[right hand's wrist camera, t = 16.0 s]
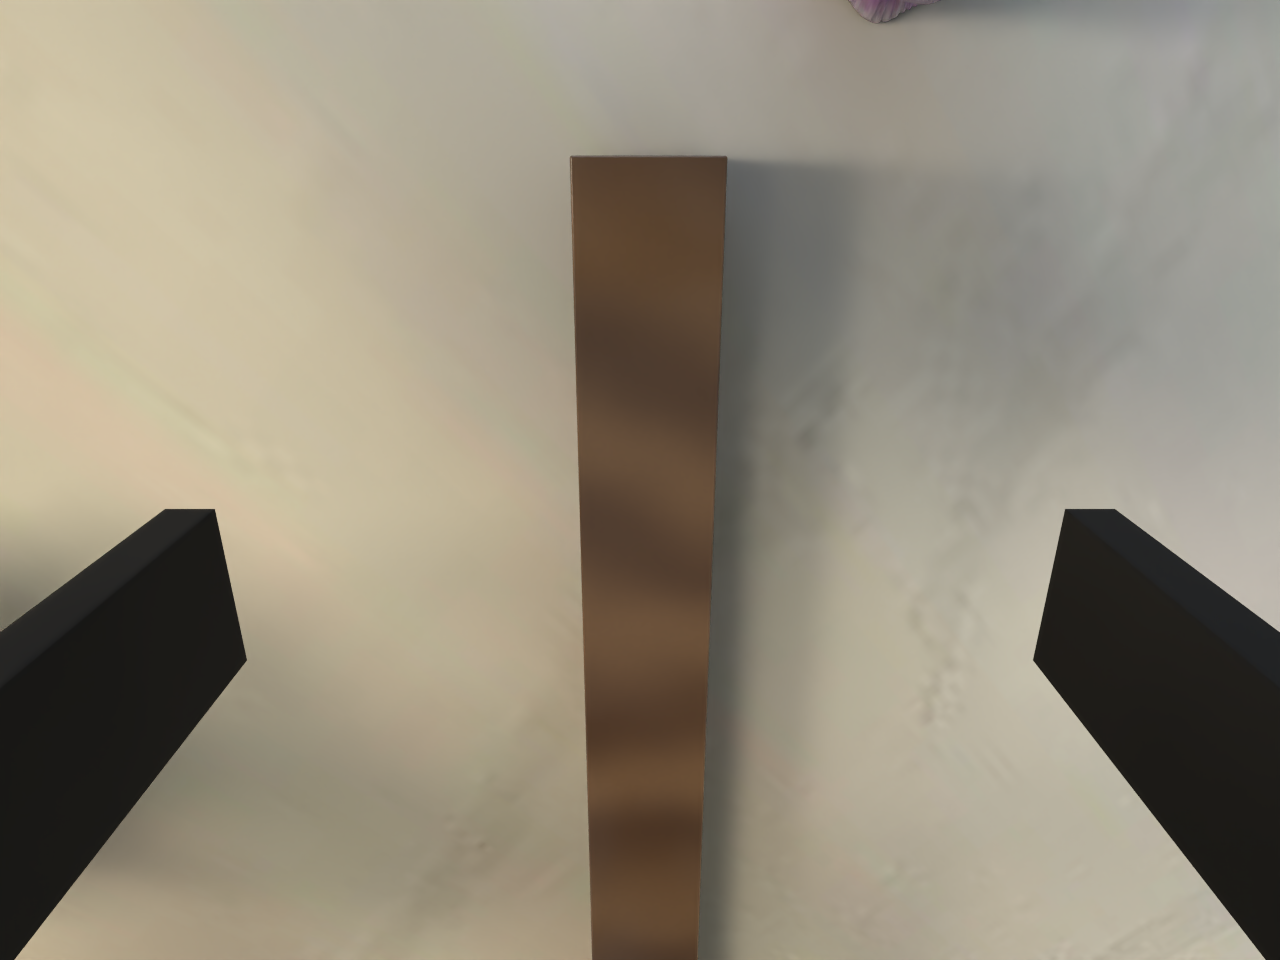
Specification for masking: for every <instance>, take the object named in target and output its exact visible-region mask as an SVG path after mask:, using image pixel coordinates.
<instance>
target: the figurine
mask: <svg viewBox="0 0 1280 960" xmlns="http://www.w3.org/2000/svg"><path fill="white" fill-rule="evenodd" d="M938 1H940V0H849V2H850V3H851V4H852V6H853V7H854V8H855V9H856V11H857V12H858V13H859V14H860V15H861V16H862V17H864V18H865V19H867V20H869V21H870V22H873V23H879V22H880V21H883V22H886V21H889V20H891V19H893V18H895V17H897V16H898V14H899V13H900V12H901V13H904V11H905V10H906V9H908V10H910V9H911V7H912V6H917V4H932V3H935V2H938Z"/></svg>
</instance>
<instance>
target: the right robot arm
mask: <svg viewBox="0 0 1280 960" xmlns="http://www.w3.org/2000/svg"><path fill="white" fill-rule="evenodd" d="M246 661H247V658H246V654H245V649H244V644H243V640H242V635H241V630H240V626H239V621H238V616H237V611H236V607H235V602H234V597H233V593H232V588H231V583H230V578H229V574H228V569H227V564H226V560H225V555H224V550H223V546H222V541H221V536H220V531H219V527H218V522H217V517H216V513H215V509H165V510H163V511H162V512H161V513H159V514H158V515H157V516H155V517H154V518H153V519H151V520H150V521H149V522H147V523H146V524H145V525H143V526H142V527H141V528H139V529H138V530H137V531H135V532H134V533H133V534H131V535H130V536H129V537H127V538H126V539H125V540H123V541H122V542H121V543H119V544H118V545H116V546H115V547H114V548H112V549H111V550H110V551H108V552H107V553H106V554H104V555H103V556H102V557H100V558H99V559H98V560H96V561H95V562H94V563H92V564H91V565H90V566H88V567H87V568H86V569H84V570H83V571H82V572H80V573H79V574H78V575H76V576H75V577H74V578H72V579H71V580H70V581H68V582H67V583H66V584H64V585H63V586H62V587H60V588H59V589H58V590H56V591H55V592H54V593H52V594H51V595H50V596H48V597H47V598H46V599H44V600H43V601H42V602H40V603H39V604H38V605H36V606H35V607H34V608H32V609H31V610H30V611H28V612H27V613H26V614H24V615H23V616H22V617H20V618H19V619H17V620H16V621H15V622H13V623H12V624H11V625H9V626H8V627H7V628H5V629H4V630H3V631H1V632H0V960H14V959H15V958H16V957H17V956H18V954H19V953H20V952H21V950H22V949H23V948H24V947H25V945H26V944H27V943H28V941H29V940H30V939H31V938H32V936H33V935H34V934H35V932H36V931H37V930H38V928H39V927H40V926H41V925H42V923H43V922H44V921H45V919H46V918H47V917H48V916H49V914H50V913H51V912H52V910H53V909H54V908H55V907H56V905H57V904H58V903H59V901H60V900H61V899H62V898H63V896H64V895H65V894H66V892H67V891H68V890H69V889H70V887H71V886H72V885H73V883H74V882H75V881H76V880H77V878H78V877H79V876H80V874H81V873H82V872H83V871H84V869H85V868H86V867H87V865H88V864H89V863H90V862H91V860H92V859H93V858H94V856H95V855H96V854H97V853H98V851H99V850H100V849H101V847H102V846H103V845H104V844H105V842H106V841H107V840H108V838H109V837H110V836H111V835H112V833H113V832H114V831H115V829H116V828H117V827H118V826H119V824H120V823H121V822H122V820H123V819H124V818H125V816H126V815H127V814H128V813H129V811H130V810H131V809H132V807H133V806H134V805H135V804H136V802H137V801H138V800H139V798H140V797H141V796H142V795H143V793H144V792H145V791H146V789H147V788H148V787H149V786H150V784H151V783H152V782H153V780H154V779H155V778H156V777H157V775H158V774H159V773H160V771H161V770H162V769H163V768H164V766H165V765H166V764H167V762H168V761H169V760H170V759H171V757H172V756H173V755H174V753H175V752H176V751H177V750H178V748H179V747H180V746H181V744H182V743H183V742H184V741H185V739H186V738H187V737H188V735H189V734H190V733H191V732H192V730H193V729H194V728H195V726H196V725H197V724H198V723H199V721H200V720H201V719H202V717H203V716H204V715H205V714H206V712H207V711H208V710H209V708H210V707H211V706H212V704H213V703H214V702H215V701H216V699H217V698H218V697H219V695H220V694H221V693H222V692H223V690H224V689H225V688H226V686H227V685H228V684H229V683H230V681H231V680H232V679H233V677H234V676H235V675H236V674H237V672H238V671H239V670H240V668H241V667H242V666H243V665H244V663H245V662H246ZM1033 661H1034V662H1035V663H1036V665H1037V666H1038V667H1039V668H1040V670H1041V671H1042V672H1043V674H1044V675H1045V676H1046V677H1047V679H1048V680H1049V681H1050V683H1051V684H1052V685H1053V686H1054V688H1055V689H1056V690H1057V692H1058V693H1059V694H1060V695H1061V697H1062V698H1063V699H1064V701H1065V702H1066V703H1067V705H1068V706H1069V707H1070V708H1071V710H1072V711H1073V712H1074V714H1075V715H1076V716H1077V717H1078V719H1079V720H1080V721H1081V723H1082V724H1083V725H1084V726H1085V728H1086V729H1087V730H1088V732H1089V733H1090V734H1091V735H1092V737H1093V738H1094V739H1095V741H1096V742H1097V743H1098V744H1099V746H1100V747H1101V748H1102V750H1103V751H1104V752H1105V753H1106V755H1107V756H1108V757H1109V759H1110V760H1111V761H1112V762H1113V764H1114V765H1115V766H1116V768H1117V769H1118V770H1119V771H1120V773H1121V774H1122V775H1123V777H1124V778H1125V779H1126V780H1127V782H1128V783H1129V784H1130V786H1131V787H1132V788H1133V789H1134V791H1135V792H1136V793H1137V795H1138V796H1139V797H1140V798H1141V800H1142V801H1143V802H1144V804H1145V805H1146V806H1147V807H1148V809H1149V810H1150V811H1151V813H1152V814H1153V815H1154V816H1155V818H1156V819H1157V820H1158V822H1159V823H1160V824H1161V826H1162V827H1163V828H1164V829H1165V831H1166V832H1167V833H1168V835H1169V836H1170V837H1171V838H1172V840H1173V841H1174V842H1175V844H1176V845H1177V846H1178V847H1179V849H1180V850H1181V851H1182V853H1183V854H1184V855H1185V856H1186V858H1187V859H1188V860H1189V862H1190V863H1191V864H1192V865H1193V867H1194V868H1195V869H1196V871H1197V872H1198V873H1199V874H1200V876H1201V877H1202V878H1203V880H1204V881H1205V882H1206V883H1207V885H1208V886H1209V887H1210V889H1211V890H1212V891H1213V892H1214V894H1215V895H1216V896H1217V898H1218V899H1219V900H1220V901H1221V903H1222V904H1223V905H1224V907H1225V908H1226V909H1227V910H1228V912H1229V913H1230V914H1231V916H1232V917H1233V918H1234V919H1235V921H1236V922H1237V923H1238V925H1239V926H1240V927H1241V928H1242V930H1243V931H1244V932H1245V934H1246V935H1247V936H1248V938H1249V939H1250V940H1251V941H1252V943H1253V944H1254V945H1255V947H1256V948H1257V949H1258V950H1259V952H1260V953H1261V954H1262V956H1263V957H1264V958H1265V959H1266V960H1280V632H1279V631H1277V630H1276V629H1275V628H1273V627H1272V626H1271V625H1269V624H1268V623H1267V622H1265V621H1264V620H1263V619H1261V618H1260V617H1258V616H1257V615H1256V614H1254V613H1253V612H1252V611H1250V610H1249V609H1248V608H1246V607H1245V606H1244V605H1242V604H1241V603H1240V602H1238V601H1237V600H1236V599H1234V598H1233V597H1232V596H1230V595H1229V594H1228V593H1226V592H1225V591H1224V590H1222V589H1221V588H1220V587H1218V586H1217V585H1216V584H1214V583H1213V582H1212V581H1210V580H1209V579H1208V578H1206V577H1205V576H1204V575H1202V574H1201V573H1200V572H1198V571H1197V570H1196V569H1194V568H1193V567H1192V566H1190V565H1189V564H1188V563H1186V562H1185V561H1184V560H1182V559H1181V558H1180V557H1178V556H1177V555H1176V554H1174V553H1173V552H1172V551H1170V550H1169V549H1168V548H1166V547H1165V546H1164V545H1162V544H1161V543H1159V542H1158V541H1157V540H1155V539H1154V538H1153V537H1151V536H1150V535H1149V534H1147V533H1146V532H1145V531H1143V530H1142V529H1141V528H1139V527H1138V526H1137V525H1135V524H1134V523H1133V522H1131V521H1130V520H1129V519H1127V518H1126V517H1125V516H1123V515H1122V514H1121V513H1119V512H1118V511H1117V510H1115V509H1065V513H1064V517H1063V522H1062V527H1061V531H1060V536H1059V541H1058V546H1057V550H1056V555H1055V560H1054V564H1053V569H1052V574H1051V578H1050V583H1049V588H1048V593H1047V597H1046V602H1045V607H1044V611H1043V616H1042V621H1041V626H1040V630H1039V635H1038V640H1037V644H1036V649H1035V654H1034V658H1033Z"/></svg>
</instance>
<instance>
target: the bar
mask: <svg viewBox="0 0 1280 960" xmlns="http://www.w3.org/2000/svg"><path fill="white" fill-rule="evenodd" d="M570 177H571V213H572V249H573V285H574V321H575V357H576V393H577V429H578V465H579V500H580V536H581V572H582V608H583V644H584V680H585V716H586V752H587V788H588V823H589V859H590V895H591V931H592V960H698V935H699V908H700V881H701V854H702V827H703V800H704V773H705V746H706V720H707V693H708V666H709V639H710V612H711V585H712V558H713V531H714V504H715V477H716V450H717V423H718V396H719V370H720V343H721V316H722V289H723V262H724V235H725V208H726V181H727V156H570Z"/></svg>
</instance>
